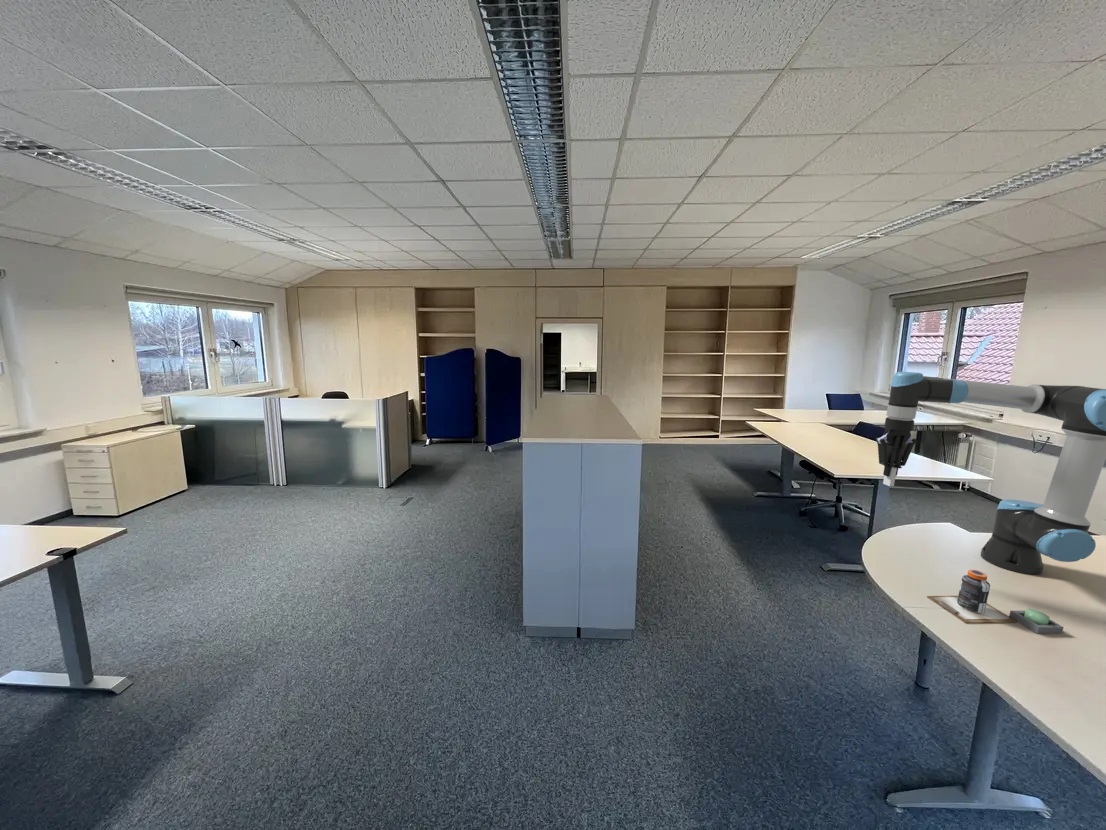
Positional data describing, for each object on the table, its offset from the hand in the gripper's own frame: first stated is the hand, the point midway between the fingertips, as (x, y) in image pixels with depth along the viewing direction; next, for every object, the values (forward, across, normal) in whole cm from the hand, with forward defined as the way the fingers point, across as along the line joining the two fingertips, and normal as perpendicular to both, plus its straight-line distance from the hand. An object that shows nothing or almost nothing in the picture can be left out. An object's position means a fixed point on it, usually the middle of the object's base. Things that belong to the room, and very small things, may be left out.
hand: (888, 484), depth 144 cm
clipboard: (+29, -7, +27) cm, 40 cm away
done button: (+28, -18, +34) cm, 48 cm away
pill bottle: (+29, -7, +27) cm, 40 cm away
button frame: (+29, -18, +34) cm, 48 cm away
